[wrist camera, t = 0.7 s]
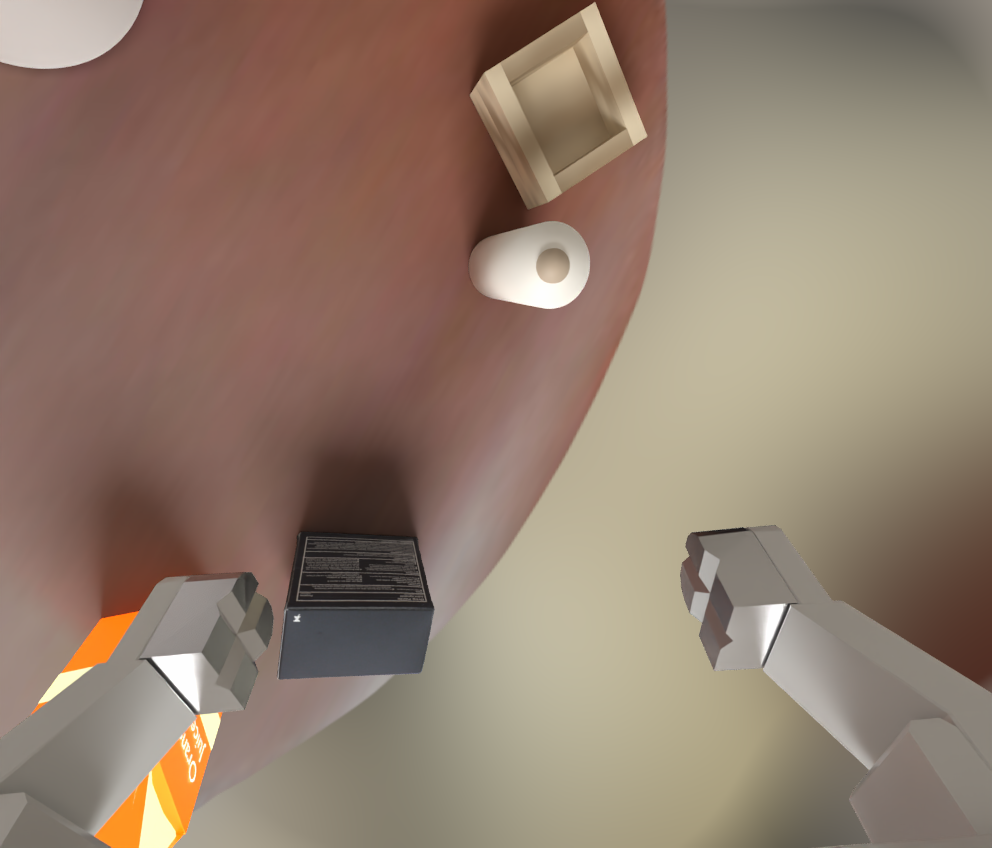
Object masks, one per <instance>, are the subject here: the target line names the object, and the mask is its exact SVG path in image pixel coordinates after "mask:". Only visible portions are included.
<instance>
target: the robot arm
mask: <svg viewBox="0 0 992 848" xmlns="http://www.w3.org/2000/svg"><path fill="white" fill-rule="evenodd" d="M142 3H143V0H0V62H3V63H7V64H11V65H15V66H21V67H28V68H39V69H52V68H63V67H70V66H74V65H78V64H81V63H85V62H88V61H90V60H92V59H95V58H97V57H98V56H100V55H102V54H104V53H105V52H107V51H108V50H110V49H111V48H112V47H113V46H115V45H116V44H117V43H118V42H119V41H120V40H121V39H122V38H123V37H124V36H125V34H126V33H127V32H128V31H129V29H130V28H131V26H132V25H133V23H134V21H135V19H136V18H137V16H138V13H139V11H140V9H141V6H142ZM686 549H687V551H688V553H689V555H690V556H689V557H688V558H687V559H686V560H685V561H684V562H682V567H681V574H680V577H681V588H682V592H683V596H684V600H685V602H686V605H687V608H688V610H689V612H690V614H691V615H693V616H694V617H695V618H697V619H698V620H699V621H700V622H702V626H701V630H700V634H699V637H700V639H701V641H702V644H703V646H704V648H705V651H706V653H707V656H708V658H709V660H710V662H711V665H712V667H713V670H714V671H719V670H737V669H755V668H764V669H763V671H764V672H765V673H766V674H767V675H768V676H769V677H770V678H771V679H772V680H773V681H774V682H776V683H777V684H778V685H779V686H780V687H781V688H782V689H783V690H784V691H785V692H786V693H787V694H788V695H789V696H791V697H792V698H793V699H794V700H795V701H796V702H797V703H798V704H799V705H800V706H801V707H802V708H803V709H804V710H806V711H807V712H808V713H809V714H810V715H811V716H812V717H813V718H814V719H815V720H816V721H817V722H819V724H821V725H822V726H823V727H824V728H825V729H826V730H827V731H828V732H829V733H830V734H831V735H832V736H833V737H835V738H836V739H837V740H838V741H839V742H840V743H841V744H842V745H843V746H844V747H845V748H846V749H847V750H849V751H850V752H851V753H852V754H853V755H854V756H855V757H856V758H857V759H858V760H859V761H860V762H861V763H862V764H864V765H865V766H866V767H867V768H868V769H869V771H868V773H867V774H866V775H865V776H864V778H863V779H862V780H861V781H860V783H859V784H858V785H857V786H856V787H855V788H854V790H853V792H852V794H851V797H850V799H849V801H850V803H851V805H852V807H853V808H854V810H855V812H856V814H857V816H858V818H859V820H860V822H861V824H862V825H863V828H864V830H865V832H866V834H867V835H868V837H869V839H870V841H871V843H869V844H857V845H844V846H831V847H819V848H992V693H990V692H989V691H987V690H985V689H984V688H982V687H981V686H979V685H977V684H976V683H974V682H972V681H971V680H969V679H967V678H966V677H964V676H963V675H961V674H960V673H958V672H956V671H955V670H953V669H951V668H950V667H948V666H946V665H945V664H943V663H942V662H940V661H939V660H937V659H935V658H934V657H932V656H930V655H929V654H927V653H926V652H924V651H922V650H921V649H919V648H918V647H916V646H914V645H913V644H911V643H909V642H908V641H906V640H905V639H903V638H901V637H900V636H898V635H896V634H895V633H893V632H892V631H890V630H888V629H886V628H885V627H884V626H882V625H880V624H879V623H877V622H875V621H874V620H872V619H870V618H869V617H867V616H866V615H864V614H862V613H861V612H859V611H858V610H856V609H854V608H853V607H851V606H850V605H848V604H846V603H844V602H843V601H832V600H831V598H830V597H829V596H828V594H827V593H826V591H825V590H824V588H823V587H822V586H821V584H820V583H819V581H818V580H817V579H816V577H815V576H814V574H813V573H812V572H811V570H810V569H809V568H808V566H807V565H806V563H805V562H804V560H803V559H802V558H801V556H800V555H799V554H798V552H797V551H796V549H795V548H794V547H793V545H792V544H791V542H790V541H789V540H788V538H787V537H786V535H785V534H784V533H783V531H782V530H781V529H780V528H779V527H777V526H776V525H770V526H758V527H747V528H743V527H742V528H732V529H722V530H712V531H701V532H692V533H691V534H690V535H689V536H688V538H687V542H686ZM258 584H259V583H258V581H257V580H256V578H255V577H254V575H253V574H252V572H238V573H221V574H205V575H191V576H177V577H166V578H164V579H163V580H162V581H160V582H159V583H157V584H156V586H155V587H154V589H153V590H152V592H151V593H150V595H149V597H148V598H147V600H146V601H145V603H144V604H143V606H142V607H141V609H140V611H139V612H138V614H137V615H136V617H135V618H134V620H133V621H132V623H131V625H130V626H129V628H128V629H127V631H126V632H125V634H124V635H123V637H122V639H121V640H120V642H119V643H118V645H117V646H116V648H115V649H114V651H113V653H112V654H111V656H110V657H109V659H108V660H107V662H106V663H97V664H96V665H95V666H93V667H92V668H91V669H90V670H88V671H87V672H86V673H84V674H83V675H82V676H81V677H79V678H78V679H77V680H75V681H74V682H73V683H71V684H70V685H69V686H68V687H66V688H65V689H64V690H62V691H61V692H60V693H59V694H57V695H56V696H55V697H53V698H52V699H51V700H50V701H48V702H47V703H46V704H44V705H43V706H42V707H40V708H39V709H38V710H37V711H35V712H34V713H33V714H31V715H30V716H29V717H28V718H26V719H25V720H24V721H22V722H21V723H20V724H19V725H17V726H16V727H15V728H13V729H12V730H11V731H10V732H8V733H7V734H6V735H4V736H3V737H2V738H0V848H112V847H110V846H109V845H107V844H106V843H104V842H102V841H101V840H99V839H98V838H96V837H94V836H95V835H96V834H97V832H98V831H99V830H100V829H101V828H102V827H103V826H104V824H105V823H106V822H107V821H108V820H109V819H110V818H111V816H112V815H113V814H114V813H115V812H116V811H117V810H118V808H119V807H120V806H121V805H122V804H123V803H124V801H125V800H126V799H127V798H128V797H129V796H130V795H131V793H132V792H133V791H134V790H135V789H136V788H137V787H138V785H139V784H140V783H141V782H142V781H143V780H144V779H145V777H146V776H147V775H148V774H149V773H150V772H151V771H152V769H153V768H154V767H155V766H156V765H157V764H158V763H159V761H160V760H161V759H162V758H163V757H164V756H165V755H166V753H167V752H168V751H169V750H170V749H171V748H172V747H173V745H174V744H175V743H176V742H177V741H178V740H179V738H180V737H181V736H182V735H183V734H184V733H185V732H186V730H187V729H188V728H189V727H190V726H191V725H192V724H193V722H194V721H195V720H196V719H197V716H196V715H203V714H212V713H221V712H229V711H238V710H245V708H246V705H247V702H248V700H249V697H250V694H251V691H252V689H253V686H254V683H255V681H256V678H257V675H258V670H257V667H256V664H255V660H256V659H257V658H258V657H259V656H260V655H261V654H263V653H264V652H265V651H266V650H267V648H268V645H269V642H270V639H271V636H272V631H273V620H274V617H273V612H272V607H271V605H270V603H269V601H268V599H267V598H265V597H264V596H262V595H260V594H258V593H257V592H255V591H256V589H257V586H258Z"/></svg>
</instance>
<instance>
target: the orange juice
mask: <svg viewBox="0 0 992 848" xmlns="http://www.w3.org/2000/svg"><path fill="white" fill-rule="evenodd" d="M138 612H139V611H138ZM138 612H133V613H128V614H123V615H117V616H112V617H107V618H102V619H101V620H100V621H99V622H98V624H97V625H96V626H95V628H94V629H93V631H92V632H91V633H90V635H89V636H88V637H87V639H86V640H85V642H84V643H83V644H82V646H81V647H80V648H79V650H78V651H77V652H76V654H75V655H74V657H73V658H72V659H71V661H70V662H69V663H68V665H67V666H66V667H65V669H64V670H63V672H62V673H61V674H59V676H58V677H57V678H56V680H55V681H54V682H53V684H52V685H51V687H50V688H49V689H48V691H47V692H46V693H45V695H44V696H43V697H42V699H41V700H40V701H39V704H38V706H37V707H36V709H35V710H34V711H33V713H34V712H35V711H37V710H38V709H39V708H40V707H42V706H43V705H44V704H46V703H47V702H48V701H50V700H51V699H52V698H53V697H55V696H56V695H57V694H59V693H60V692H61V691H62V690H64V689H65V688H66V687H68V686H69V685H70V684H71V683H73V682H74V681H75V680H77V679H78V678H79V677H81V676H82V675H83V674H84V673H86V672H87V671H88V670H90V669H91V668H92V667H93V666H95V665H96V664H97V663H106V662H107V660H108V659H109V657H110V656H111V654H112V653H113V651H114V649H115V648H116V646H117V645H118V643H119V642H120V640H121V639H122V637H123V635H124V634H125V632H126V631H127V629H128V628H129V626H130V625H131V623H132V621H133V620H134V618H135V617H136V615H137V614H138ZM33 713H32V714H33ZM221 715H222V712H221V713H212V714H203V715H196V716H197V719H196V720H195V721H194V722H193V724H192V725H191V726H190V727H189V728H188V729H187V730H186V732H185V733H184V734H183V735H182V736H181V737H180V738H179V740H178V741H177V742H176V743H175V744H174V745H173V747H172V748H171V749H170V750H169V751H168V752H167V753H166V755H165V756H164V757H163V758H162V759H161V760H160V761H159V763H158V764H157V765H156V766H155V767H154V768H153V769H152V771H151V772H150V773H149V774H148V775H147V776H146V777H145V779H144V780H143V781H142V782H141V783H140V784H139V785H138V787H137V788H136V789H135V790H134V791H133V792H132V793H131V795H130V796H129V797H128V798H127V799H126V800H125V801H124V803H123V804H122V805H121V806H120V807H119V808H118V810H117V811H116V812H115V813H114V814H113V815H112V816H111V818H110V819H109V820H108V821H107V822H106V823H105V824H104V826H103V827H102V828H101V829H100V830H99V831H98V832H97V834H96V835H95V836H94V837H96V838H98V839H99V840H101V841H102V842H104V843H106V844H107V845H109V846H110V847H112V848H172V847H173V846H174V845H175V844H176V842H177V841H178V840H179V839H180V838H181V836H182V835H185V834H186V831H187V828H188V824H189V821H190V817H191V815H192V811H193V808H194V805H195V801H196V798H197V795H198V791H199V788H200V785H201V781H202V778H203V775H204V771H205V768H206V765H207V761H208V758H209V755H210V751H211V750H212V747H213V744H214V741H215V737H216V734H217V731H218V727H219V724H220V718H221Z"/></svg>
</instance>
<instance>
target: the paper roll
mask: <svg viewBox="0 0 992 848" xmlns="http://www.w3.org/2000/svg"><path fill="white" fill-rule="evenodd" d="M468 270H469V276H470V279H471V281H472V283H473V285H474V287H475V288H476V289H477V290H478V291H479V292H480V293H481V294H483V295H484V296H487V297H489V298H493V299H498V300H504V301H509V302H514V303H519V304H525V305H530V306H535V307H540V308H546V309H553V308H559V307H562V306H564V305H566V304H568V303H570V302H571V301H573V300H574V299H575V298H576V297H577V296H578V295H579V294H580V292H581V291H582V289H583V288H584V286H585V284H586V282H587V279H588V275H589V270H590V257H589V252H588V248H587V246H586V243H585V242H584V240H583V238H582V237H581V235H580V234H579V233H578V232H577V231H576V230H575V229H573V228H572V227H571V226H569V225H567V224H564V223H561V222H557V221H548V222H543V223H539V224H535V225H531V226H528V227H524V228H520V229H516V230H512V231H509V232H505V233H501V234H497V235H493V236H489V237H487V238H485V239H483V240H482V241H480V242H479V243H478V244H477V245H476V246H475V248H474V249H473V251H472V253H471V255H470V258H469V264H468Z"/></svg>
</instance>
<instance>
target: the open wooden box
mask: <svg viewBox="0 0 992 848" xmlns="http://www.w3.org/2000/svg"><path fill="white" fill-rule="evenodd" d="M469 96H470V97H471V99H472V101H473V103H474V105H475V107H476V109H477V111H478V113H479V115H480V117H481V119H482V121H483V123H484V125H485V127H486V129H487V131H488V133H489V135H490V137H491V139H492V141H493V142H494V144H495V146H496V148H497V150H498V152H499V154H500V156H501V158H502V160H503V162H504V164H505V166H506V168H507V170H508V172H509V174H510V176H511V178H512V180H513V182H514V184H515V185H516V187H517V189H518V191H519V193H520V195H521V197H522V199H523V201H524V203H525V205H526V207H527V209H531V208H534V207H537V206H540V205H542V204H545V203H548V202H549V201H551V200H552V199H554V198H555V197H557V196H558V195H560V194H561V193H563V192H565V191H566V190H568V189H569V188H571V187H572V186H574V185H575V184H577V183H578V182H580V181H581V180H583V179H584V178H586V177H587V176H589V175H590V174H592V173H593V172H595V171H596V170H598V169H599V168H601V167H602V166H604V165H605V164H607V163H608V162H610V161H611V160H613V159H614V158H616V157H617V156H619V155H620V154H622V153H623V152H625V151H626V150H628V149H629V148H631V147H632V146H634V145H635V144H637V143H638V142H640V141H641V140H643V139H644V138H646V137H647V134H646V132H645V129H644V127H643V124H642V122H641V119H640V116H639V114H638V111H637V109H636V106H635V104H634V101H633V98H632V96H631V93H630V91H629V88H628V85H627V83H626V80H625V78H624V75H623V73H622V70H621V67H620V65H619V62H618V60H617V57H616V55H615V52H614V49H613V47H612V44H611V42H610V39H609V36H608V34H607V31H606V29H605V26H604V24H603V21H602V18H601V16H600V13H599V11H598V8H597V6H596V3H595V2H594V3H593V4H591V5H590V6H588V7H586V8H585V9H583V10H582V11H580V12H579V13H577V14H575V15H574V16H572V17H571V18H569V19H568V20H566V21H565V22H563V23H561V24H560V25H558V26H557V27H555V28H554V29H552V30H550V31H549V32H547V33H546V34H544V35H543V36H541V37H539V38H538V39H536V40H535V41H533V42H532V43H530V44H528V45H527V46H525V47H524V48H522V49H521V50H519V51H518V52H516V53H514V54H513V55H511V56H510V57H508V58H507V59H505V60H503V61H502V62H500V63H499V64H497V65H496V66H494V67H492V68H491V69H489V70H488V71H486V72H485V73H484V74H483V75H482V77H481V79H480V80H479V82H478V83H477V85H476V86H475V88H474V89H473V91H472V92H471V94H470V95H469Z"/></svg>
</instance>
